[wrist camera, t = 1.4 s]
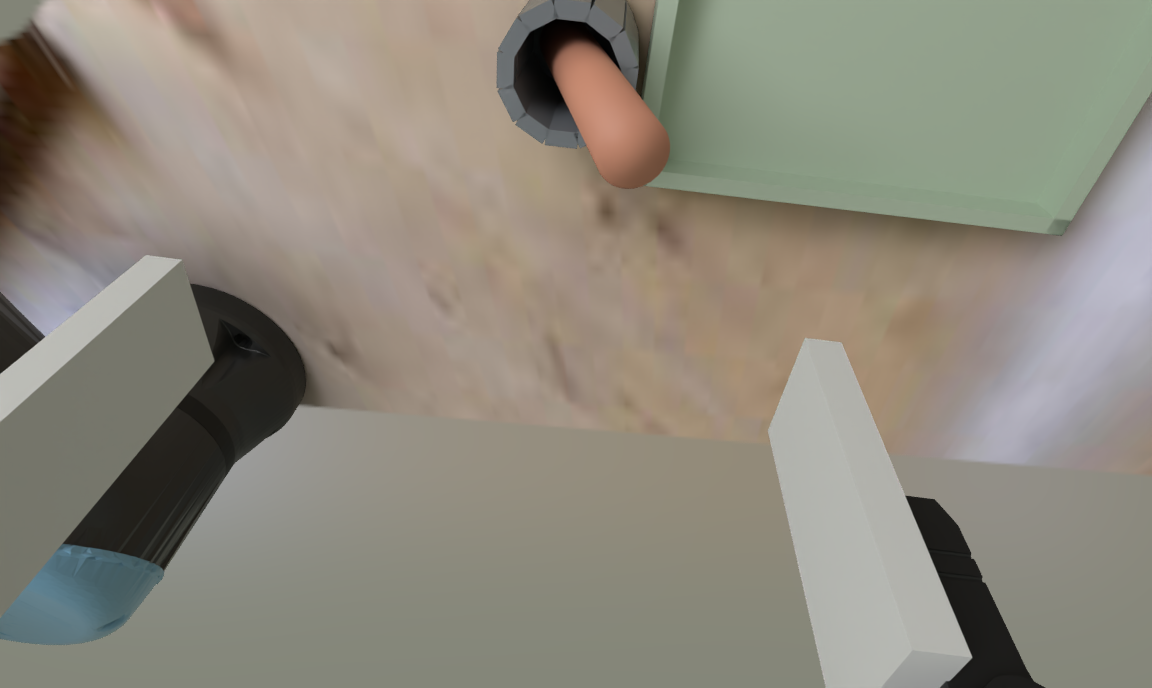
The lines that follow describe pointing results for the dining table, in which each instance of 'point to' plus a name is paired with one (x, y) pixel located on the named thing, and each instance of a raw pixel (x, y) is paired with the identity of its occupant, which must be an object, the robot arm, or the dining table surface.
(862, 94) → the tray
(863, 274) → the dining table surface
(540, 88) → the cup
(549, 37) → the pin
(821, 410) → the robot arm
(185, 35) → the dining table surface
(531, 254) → the dining table surface
